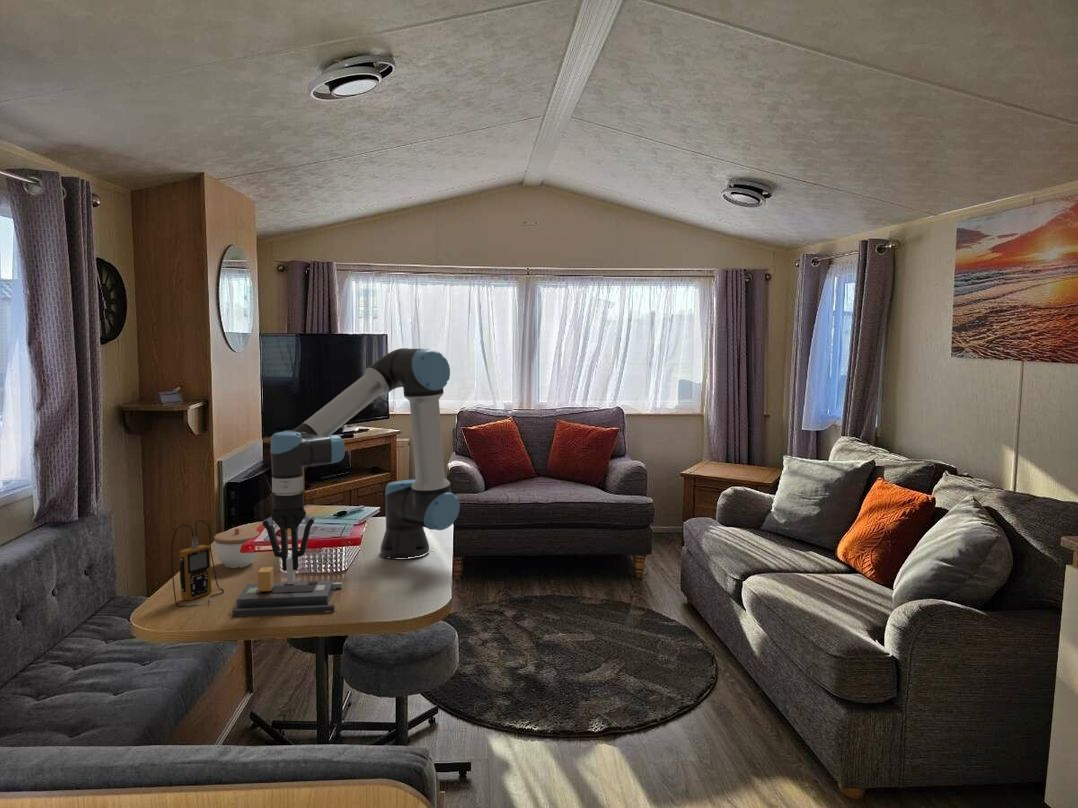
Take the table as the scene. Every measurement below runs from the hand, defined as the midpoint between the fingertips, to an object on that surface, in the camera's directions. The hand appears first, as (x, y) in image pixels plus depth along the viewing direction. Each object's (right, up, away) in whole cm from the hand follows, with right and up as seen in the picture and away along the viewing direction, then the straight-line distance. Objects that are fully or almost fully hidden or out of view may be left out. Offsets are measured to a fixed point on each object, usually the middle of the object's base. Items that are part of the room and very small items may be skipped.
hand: (291, 582), depth 199 cm
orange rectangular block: (-6, -1, -1) cm, 6 cm away
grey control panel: (-1, -5, 0) cm, 5 cm away
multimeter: (-23, -5, +1) cm, 23 cm away
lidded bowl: (-26, -2, +31) cm, 40 cm away
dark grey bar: (+1, -6, -9) cm, 10 cm away
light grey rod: (-1, -4, +9) cm, 10 cm away
